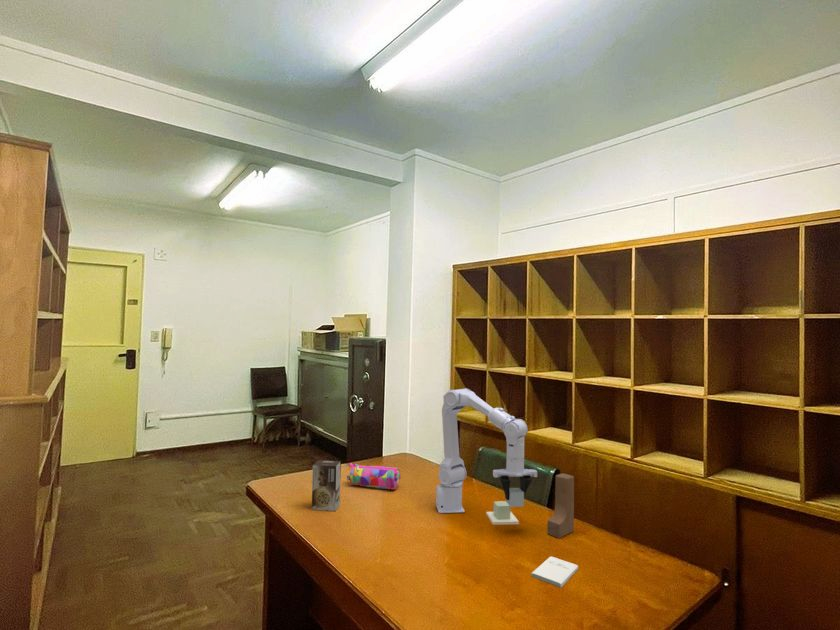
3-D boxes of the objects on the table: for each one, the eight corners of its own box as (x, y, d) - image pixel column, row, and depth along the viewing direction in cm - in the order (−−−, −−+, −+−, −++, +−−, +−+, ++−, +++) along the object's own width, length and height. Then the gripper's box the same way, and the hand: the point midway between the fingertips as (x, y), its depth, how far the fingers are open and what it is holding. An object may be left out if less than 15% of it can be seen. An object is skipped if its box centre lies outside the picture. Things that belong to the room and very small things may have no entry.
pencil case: (344, 488, 185) (345, 465, 186) (353, 481, 194) (354, 460, 195) (395, 493, 180) (395, 470, 180) (401, 486, 189) (402, 464, 190)
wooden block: (559, 538, 142) (559, 481, 143) (546, 533, 146) (547, 477, 146) (574, 531, 148) (574, 476, 149) (562, 526, 151) (562, 472, 152)
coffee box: (340, 505, 166) (341, 460, 167) (335, 511, 160) (337, 465, 161) (316, 503, 167) (318, 459, 168) (310, 510, 161) (312, 464, 161)
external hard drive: (531, 578, 119) (549, 561, 129) (561, 590, 114) (578, 570, 124) (531, 572, 119) (549, 555, 129) (561, 583, 114) (578, 564, 124)
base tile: (493, 526, 152) (493, 522, 152) (486, 516, 161) (486, 511, 161) (518, 526, 153) (518, 521, 153) (510, 515, 162) (510, 511, 162)
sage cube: (497, 519, 154) (498, 506, 154) (493, 514, 158) (493, 501, 159) (510, 519, 155) (510, 505, 155) (505, 513, 159) (505, 501, 159)
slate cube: (510, 506, 145) (510, 492, 145) (506, 501, 149) (506, 488, 150) (523, 506, 145) (523, 492, 146) (519, 501, 150) (519, 487, 150)
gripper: (497, 460, 143) (496, 503, 143) (541, 460, 145) (540, 502, 144) (491, 454, 150) (490, 495, 150) (532, 454, 152) (532, 495, 151)
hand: (514, 498), depth 148 cm, fingers closed on slate cube, 4 cm apart
